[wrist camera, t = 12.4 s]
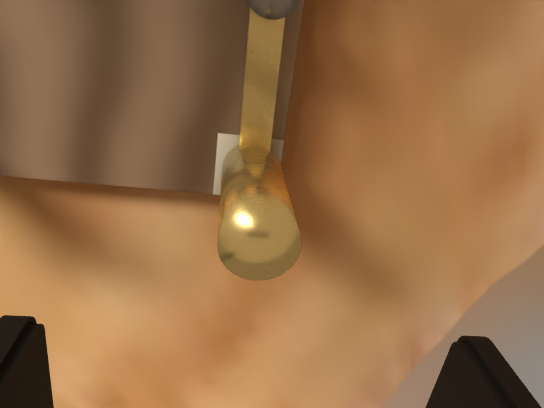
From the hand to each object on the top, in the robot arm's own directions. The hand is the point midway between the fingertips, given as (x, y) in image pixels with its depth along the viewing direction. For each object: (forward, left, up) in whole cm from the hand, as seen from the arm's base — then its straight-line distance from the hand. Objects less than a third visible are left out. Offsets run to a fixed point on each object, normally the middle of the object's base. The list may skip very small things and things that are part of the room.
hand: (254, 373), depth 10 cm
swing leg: (+1, +3, -18) cm, 18 cm away
